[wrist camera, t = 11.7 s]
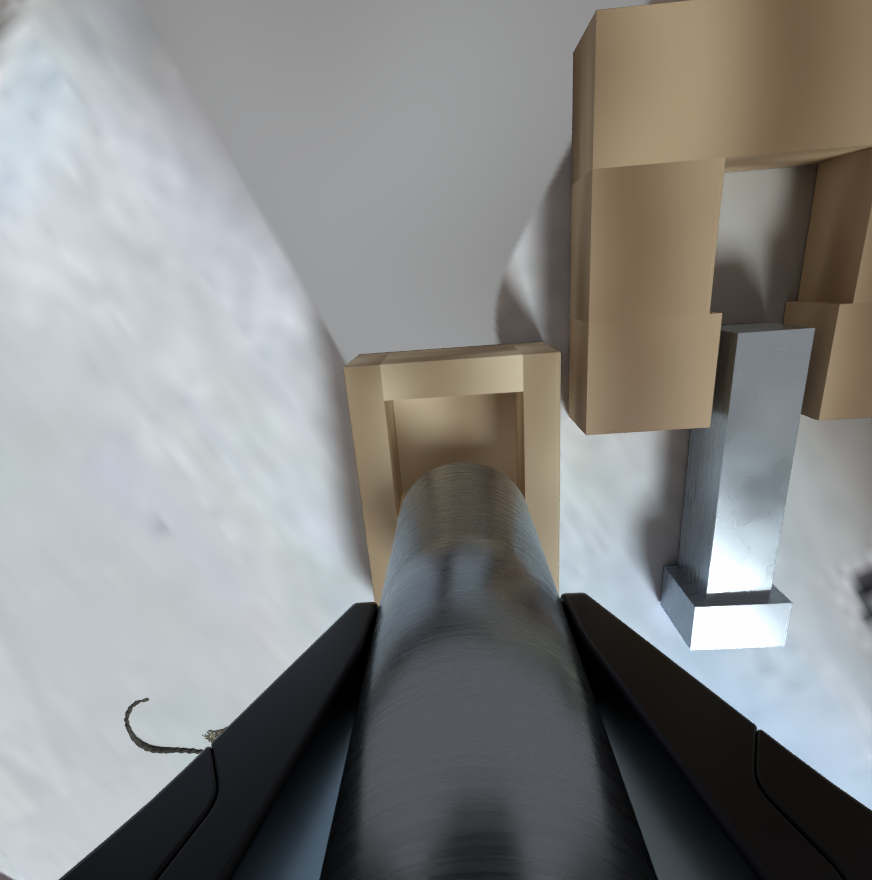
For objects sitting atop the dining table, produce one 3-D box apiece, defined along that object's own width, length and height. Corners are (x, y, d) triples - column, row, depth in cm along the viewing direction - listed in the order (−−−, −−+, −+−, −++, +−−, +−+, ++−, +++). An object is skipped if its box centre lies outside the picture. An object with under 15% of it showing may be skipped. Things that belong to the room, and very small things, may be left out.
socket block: (968, 13, 15) (1069, -39, 12) (883, 395, 18) (948, 412, 16) (573, 52, 15) (596, 10, 13) (568, 416, 19) (585, 435, 16)
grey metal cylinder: (528, 458, 11) (987, 1476, 2) (530, 575, 12) (820, 1636, 3) (392, 466, 11) (93, 1436, 2) (405, 581, 12) (252, 1600, 3)
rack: (542, 341, 18) (596, 373, 12) (544, 607, 22) (584, 744, 15) (359, 354, 18) (311, 393, 12) (391, 614, 22) (368, 751, 16)
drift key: (784, 320, 17) (844, 327, 15) (742, 600, 21) (784, 646, 19) (684, 327, 18) (726, 335, 15) (660, 604, 21) (690, 650, 19)
